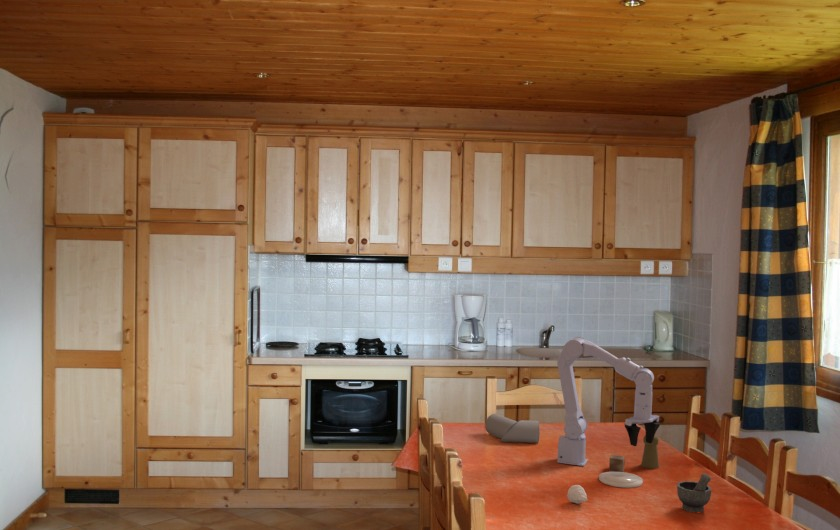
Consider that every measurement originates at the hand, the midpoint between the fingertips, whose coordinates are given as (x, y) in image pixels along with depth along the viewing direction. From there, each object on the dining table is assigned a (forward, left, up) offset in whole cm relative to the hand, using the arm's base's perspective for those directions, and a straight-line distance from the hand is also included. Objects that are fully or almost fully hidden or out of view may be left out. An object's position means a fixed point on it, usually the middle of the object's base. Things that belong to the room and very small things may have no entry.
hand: (641, 444), depth 266 cm
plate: (-5, -13, -10) cm, 17 cm away
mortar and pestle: (+19, -31, -10) cm, 38 cm away
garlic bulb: (-13, -42, -10) cm, 45 cm away
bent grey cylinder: (-52, +21, -10) cm, 57 cm away
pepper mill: (+2, +9, -10) cm, 13 cm away
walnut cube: (-8, -1, -10) cm, 12 cm away
